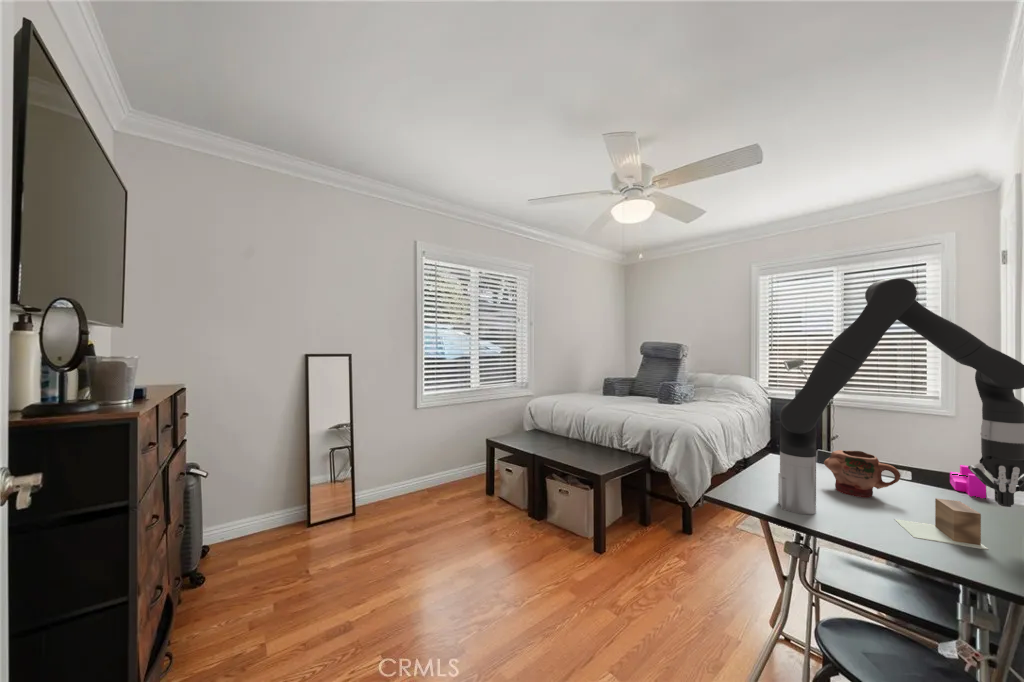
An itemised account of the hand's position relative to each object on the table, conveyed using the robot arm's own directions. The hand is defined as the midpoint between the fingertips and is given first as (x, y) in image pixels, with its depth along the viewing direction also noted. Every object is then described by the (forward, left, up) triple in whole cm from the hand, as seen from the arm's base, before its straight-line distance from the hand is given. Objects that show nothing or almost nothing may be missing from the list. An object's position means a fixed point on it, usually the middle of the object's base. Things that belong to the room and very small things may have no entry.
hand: (1004, 505), depth 103 cm
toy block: (+14, +48, -11) cm, 52 cm away
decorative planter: (-21, +28, -10) cm, 36 cm away
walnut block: (-9, 0, -10) cm, 13 cm away
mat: (-13, 0, -10) cm, 16 cm away
